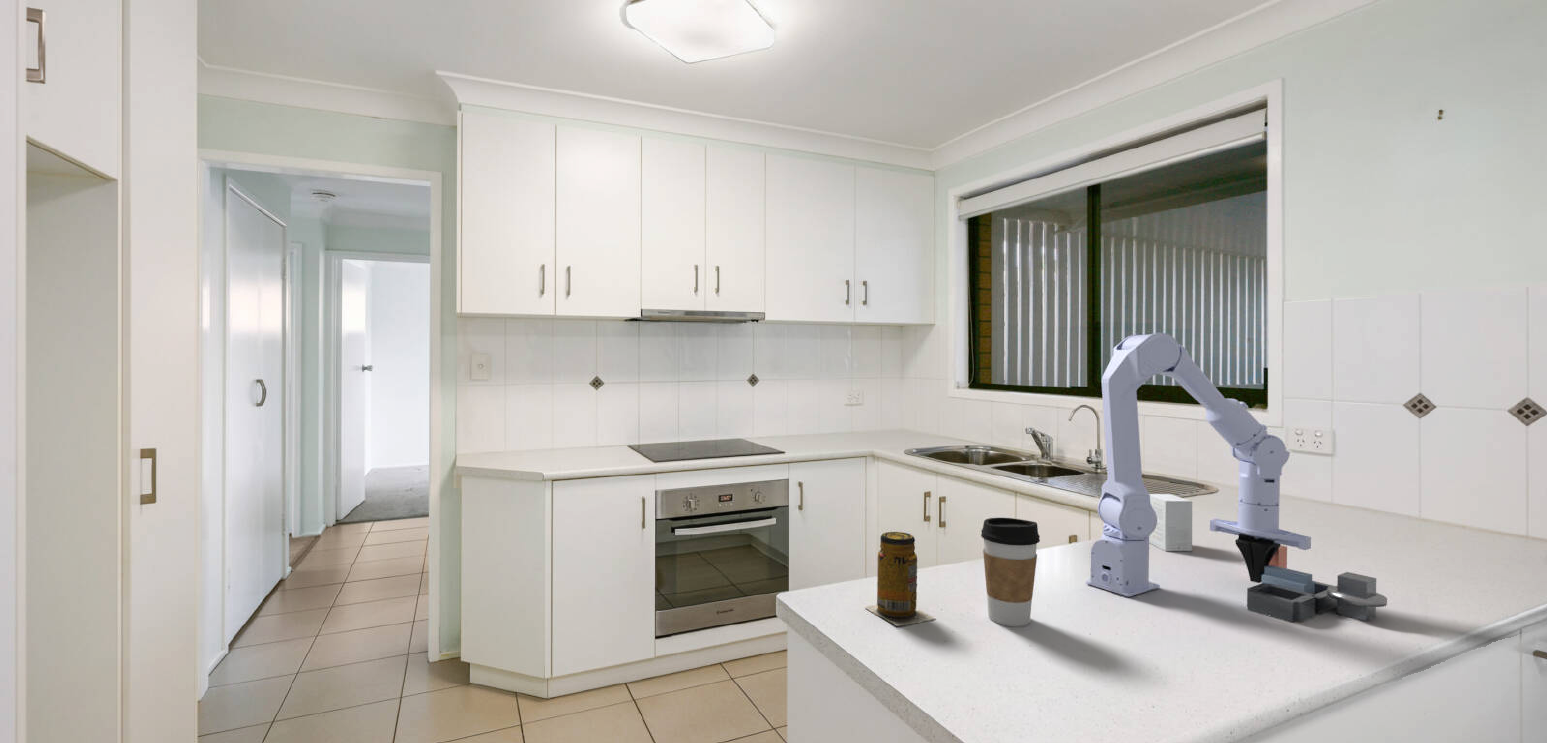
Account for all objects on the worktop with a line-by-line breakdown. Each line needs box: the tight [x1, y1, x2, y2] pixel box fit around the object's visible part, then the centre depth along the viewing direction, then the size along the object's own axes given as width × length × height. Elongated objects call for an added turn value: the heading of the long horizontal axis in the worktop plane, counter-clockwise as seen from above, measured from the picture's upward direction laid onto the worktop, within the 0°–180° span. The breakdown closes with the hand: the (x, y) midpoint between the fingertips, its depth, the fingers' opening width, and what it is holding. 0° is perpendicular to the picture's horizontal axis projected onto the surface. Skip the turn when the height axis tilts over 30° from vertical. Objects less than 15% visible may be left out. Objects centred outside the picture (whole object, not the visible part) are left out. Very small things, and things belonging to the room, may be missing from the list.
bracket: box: [1260, 565, 1316, 595], centre depth 112 cm, size 4×6×4 cm, turn 31°
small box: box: [1149, 493, 1193, 552], centre depth 142 cm, size 8×6×10 cm
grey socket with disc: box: [1246, 571, 1388, 623], centre depth 105 cm, size 17×14×6 cm
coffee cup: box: [980, 517, 1041, 627], centre depth 101 cm, size 8×8×15 cm
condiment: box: [864, 531, 936, 626], centre depth 103 cm, size 7×8×12 cm
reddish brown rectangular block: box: [1269, 544, 1288, 569], centre depth 120 cm, size 3×3×6 cm
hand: (1257, 581), depth 115 cm, fingers closed
